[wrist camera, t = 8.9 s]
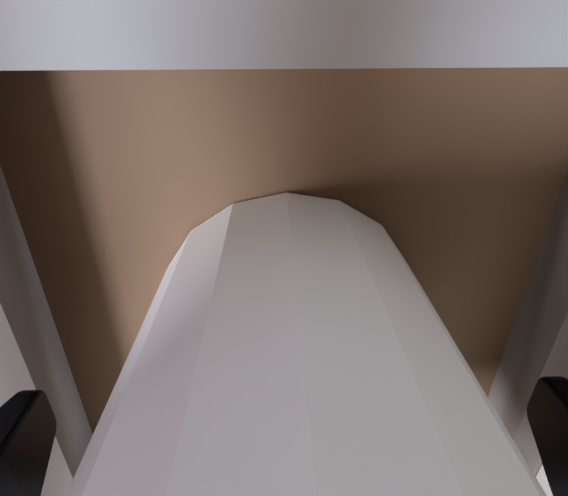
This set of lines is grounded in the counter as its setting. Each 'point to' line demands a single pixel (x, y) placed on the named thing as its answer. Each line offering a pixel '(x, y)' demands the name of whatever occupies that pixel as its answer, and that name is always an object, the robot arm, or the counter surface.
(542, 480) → the counter surface
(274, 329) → the shot glass
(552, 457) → the robot arm
